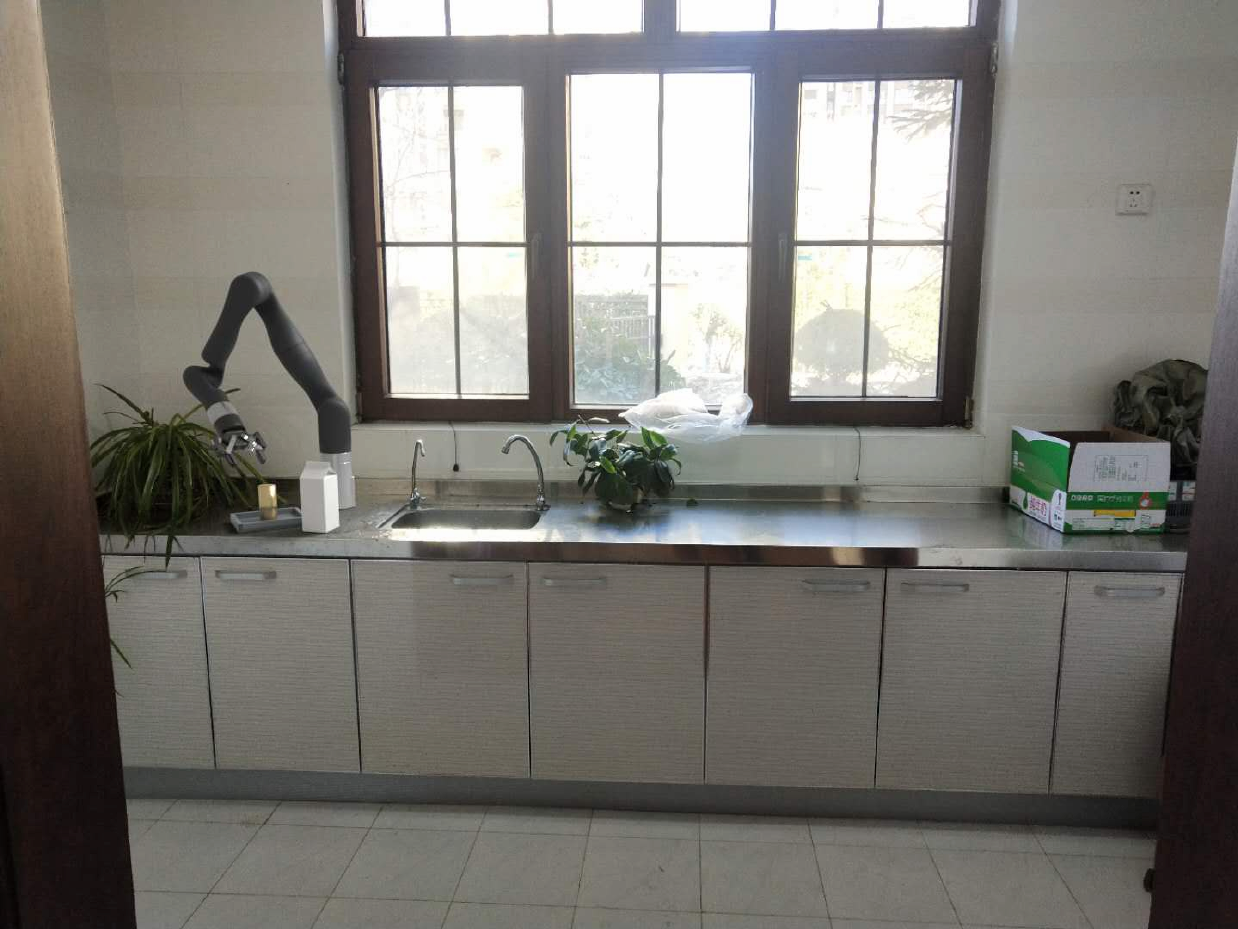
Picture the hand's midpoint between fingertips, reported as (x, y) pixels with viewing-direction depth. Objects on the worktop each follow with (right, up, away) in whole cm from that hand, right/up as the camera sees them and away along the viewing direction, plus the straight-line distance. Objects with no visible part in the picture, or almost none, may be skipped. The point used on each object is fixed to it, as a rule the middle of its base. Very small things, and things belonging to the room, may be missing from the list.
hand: (249, 464), depth 241 cm
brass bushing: (+6, -16, -2) cm, 17 cm away
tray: (+7, -17, -2) cm, 18 cm away
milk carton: (+23, -18, -7) cm, 30 cm away
